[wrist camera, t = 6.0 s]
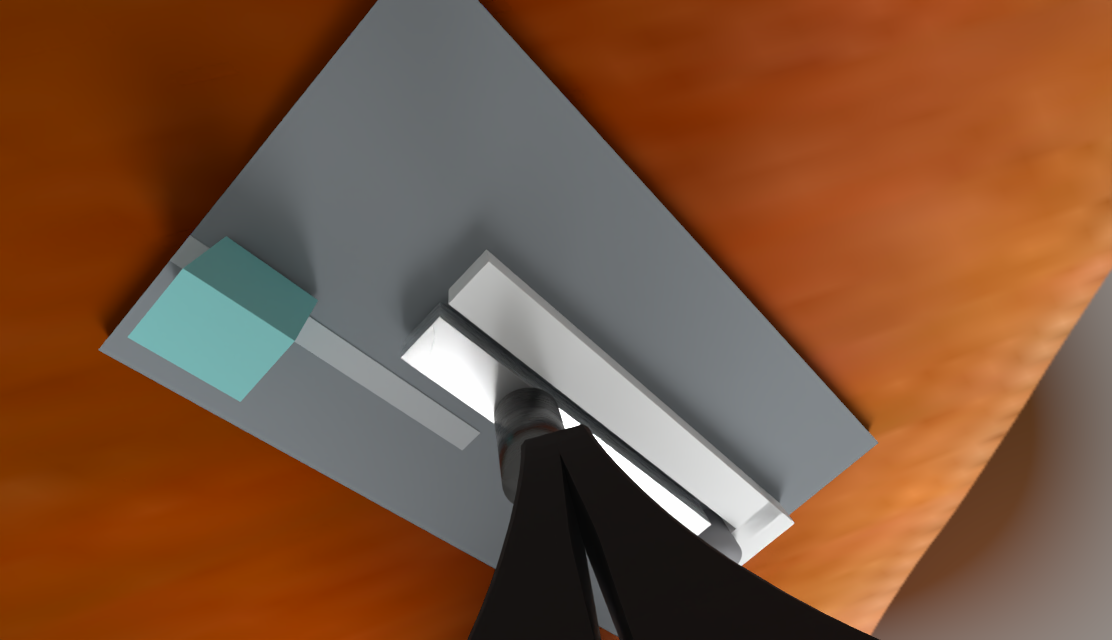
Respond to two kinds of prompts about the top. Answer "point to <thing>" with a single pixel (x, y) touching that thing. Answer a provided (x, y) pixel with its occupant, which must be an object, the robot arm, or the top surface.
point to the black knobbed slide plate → (523, 406)
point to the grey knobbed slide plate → (497, 294)
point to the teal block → (226, 318)
